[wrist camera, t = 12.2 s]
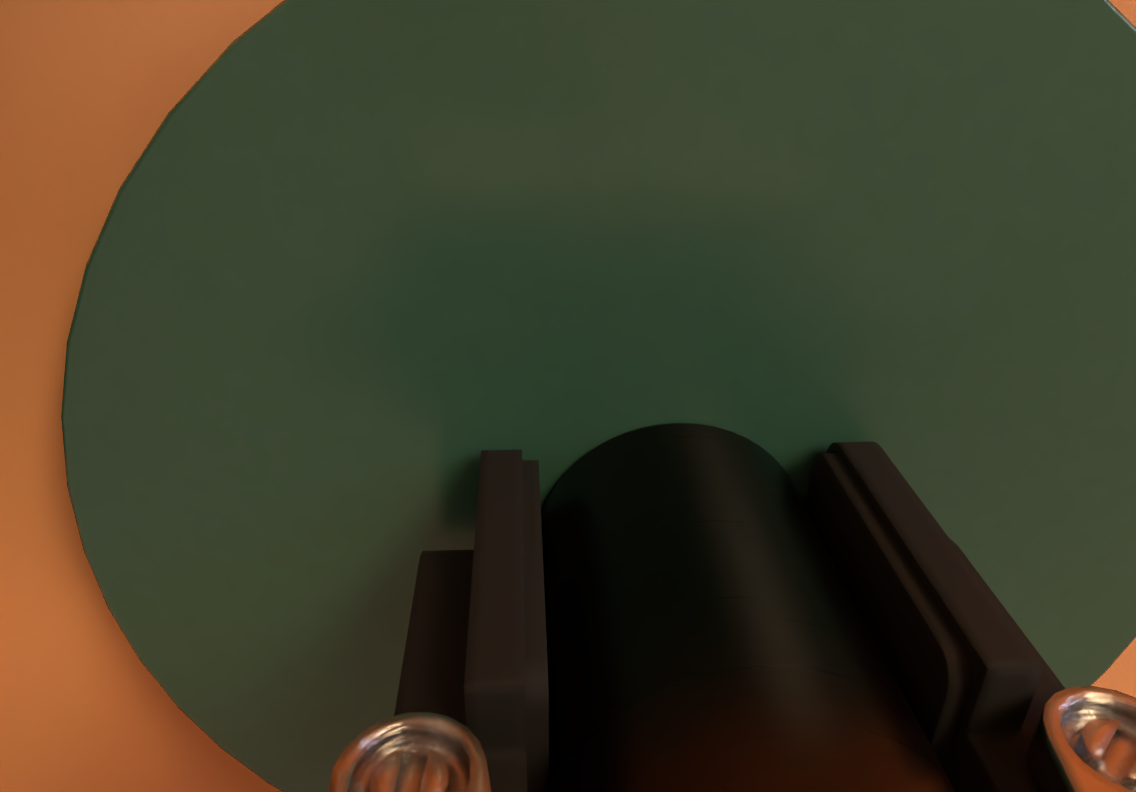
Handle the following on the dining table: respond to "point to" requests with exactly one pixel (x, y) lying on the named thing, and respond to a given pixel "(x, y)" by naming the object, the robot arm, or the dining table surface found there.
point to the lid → (614, 361)
